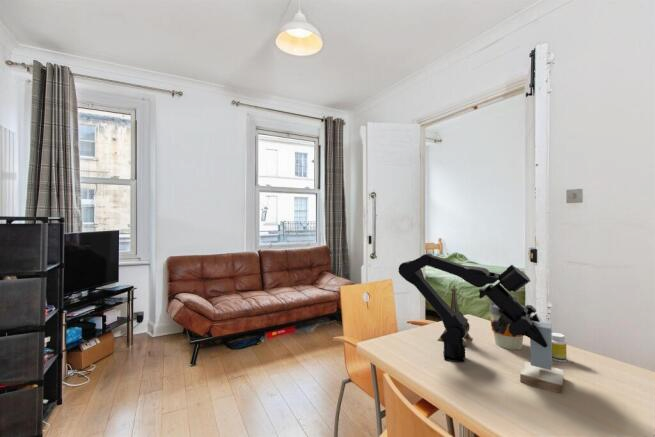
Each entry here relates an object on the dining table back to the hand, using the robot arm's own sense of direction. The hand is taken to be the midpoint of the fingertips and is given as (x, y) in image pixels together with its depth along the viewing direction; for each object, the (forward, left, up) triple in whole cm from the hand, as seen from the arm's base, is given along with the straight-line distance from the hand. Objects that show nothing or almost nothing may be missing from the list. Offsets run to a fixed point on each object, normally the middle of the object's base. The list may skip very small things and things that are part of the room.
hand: (546, 343), depth 91 cm
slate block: (-1, +1, -7) cm, 7 cm away
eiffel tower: (-23, +27, -12) cm, 37 cm away
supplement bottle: (+9, +18, -11) cm, 23 cm away
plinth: (-1, +1, -11) cm, 11 cm away
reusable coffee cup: (-4, +27, -11) cm, 29 cm away
